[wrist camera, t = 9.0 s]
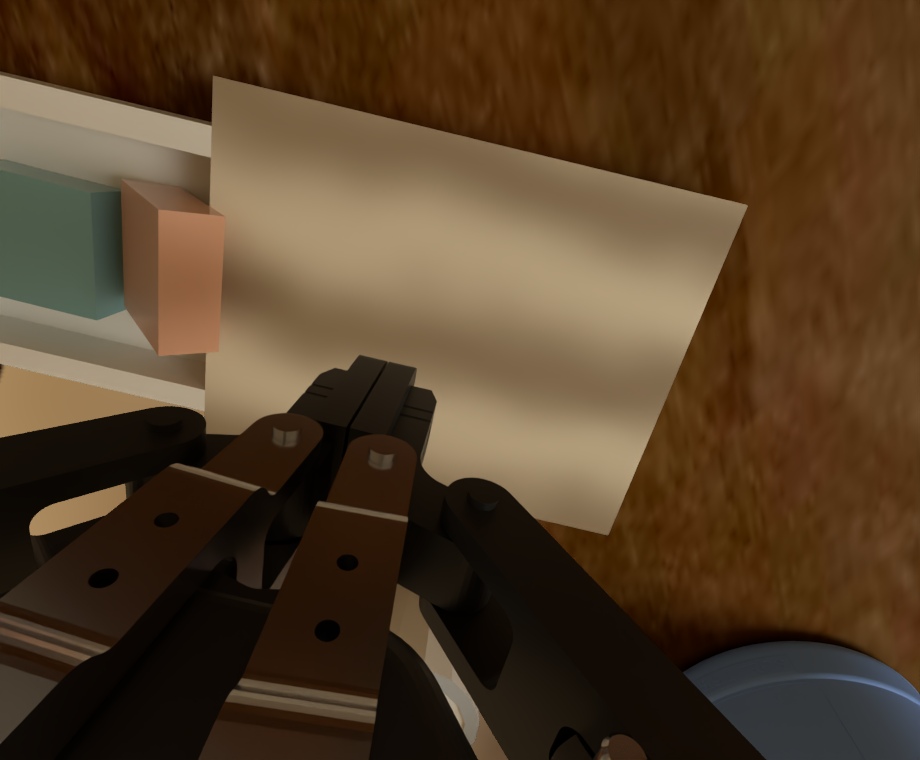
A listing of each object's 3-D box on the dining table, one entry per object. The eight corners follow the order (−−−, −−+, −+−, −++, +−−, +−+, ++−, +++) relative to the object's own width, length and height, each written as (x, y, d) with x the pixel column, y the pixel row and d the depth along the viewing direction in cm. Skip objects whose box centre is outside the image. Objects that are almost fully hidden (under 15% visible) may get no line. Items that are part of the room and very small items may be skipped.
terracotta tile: (179, 186, 20) (120, 178, 19) (225, 216, 17) (158, 209, 16) (178, 305, 22) (124, 306, 21) (218, 351, 19) (158, 355, 18)
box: (-52, 58, 20) (-143, 40, 17) (251, 131, 20) (211, 125, 17) (-12, 325, 24) (-79, 345, 21) (238, 383, 24) (204, 411, 21)
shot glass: (450, 531, 27) (433, 647, 20) (504, 622, 29) (505, 753, 22) (339, 570, 28) (291, 689, 22) (399, 653, 30) (371, 784, 24)
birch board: (254, 88, 19) (212, 75, 17) (713, 200, 20) (747, 205, 17) (236, 411, 25) (203, 441, 22) (596, 494, 25) (608, 535, 22)
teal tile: (90, 192, 19) (127, 190, 21) (-45, 158, 19) (4, 159, 20) (96, 320, 21) (130, 308, 22) (-26, 290, 21) (17, 280, 22)
